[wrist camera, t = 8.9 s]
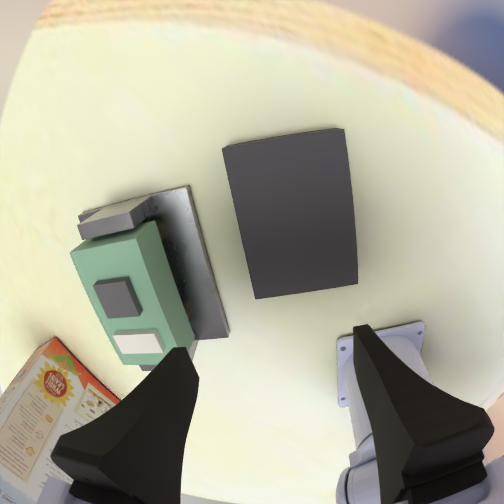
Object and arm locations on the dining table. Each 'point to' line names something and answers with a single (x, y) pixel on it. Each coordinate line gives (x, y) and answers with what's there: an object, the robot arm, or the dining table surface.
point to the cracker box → (44, 418)
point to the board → (134, 293)
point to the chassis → (171, 253)
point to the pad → (295, 211)
